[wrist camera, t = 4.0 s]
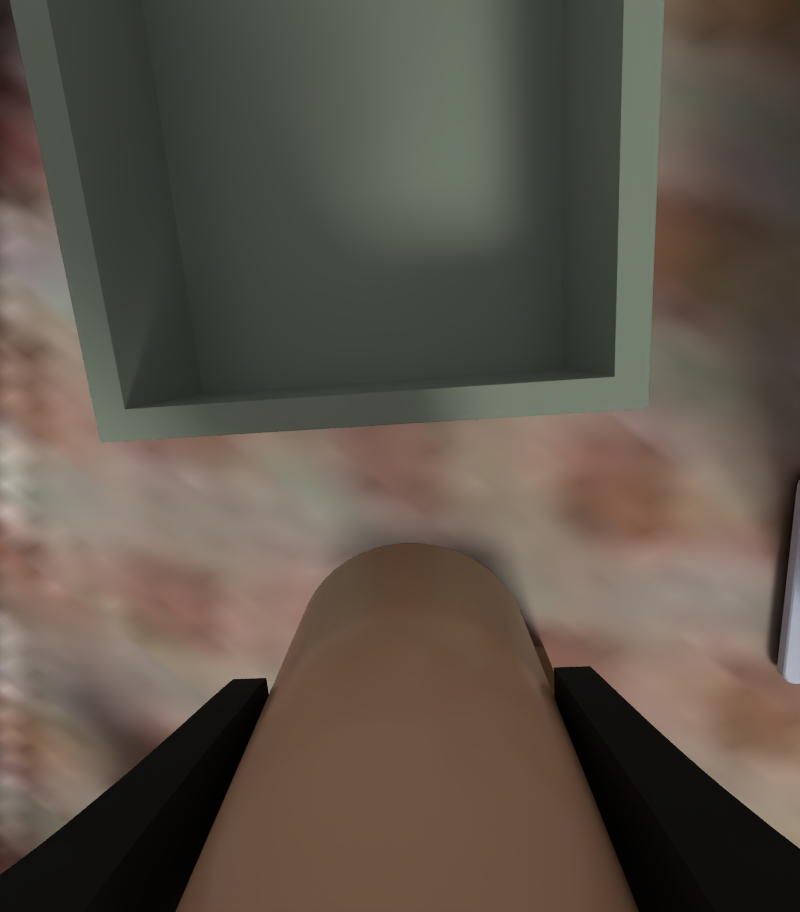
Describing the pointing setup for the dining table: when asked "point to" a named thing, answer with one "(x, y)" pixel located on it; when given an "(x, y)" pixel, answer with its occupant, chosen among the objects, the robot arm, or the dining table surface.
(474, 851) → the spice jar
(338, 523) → the dining table surface
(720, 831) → the robot arm
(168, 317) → the tote
